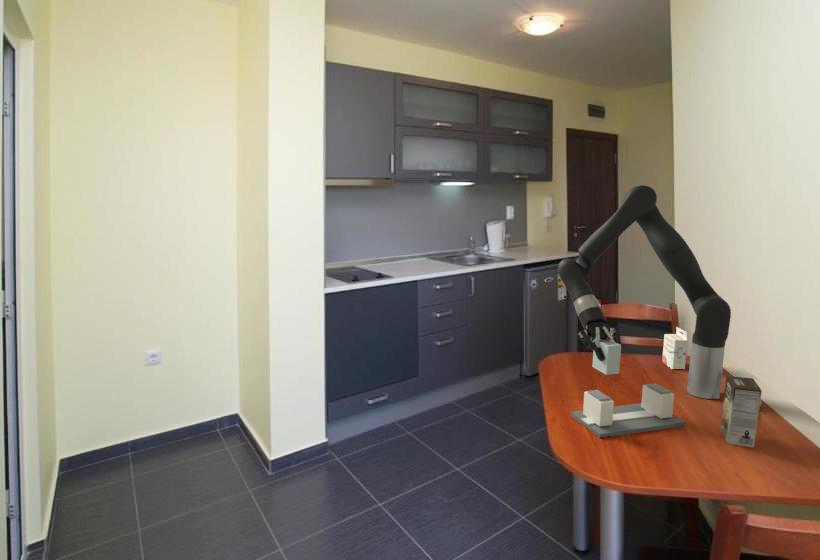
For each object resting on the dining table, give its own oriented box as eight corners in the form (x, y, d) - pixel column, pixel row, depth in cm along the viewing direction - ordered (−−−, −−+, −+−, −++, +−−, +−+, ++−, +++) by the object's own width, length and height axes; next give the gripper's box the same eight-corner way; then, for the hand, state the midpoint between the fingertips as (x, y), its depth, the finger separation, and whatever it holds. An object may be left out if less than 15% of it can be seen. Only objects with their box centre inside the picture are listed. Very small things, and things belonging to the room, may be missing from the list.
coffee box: (719, 428, 136) (725, 374, 134) (746, 432, 134) (752, 377, 131) (726, 444, 128) (733, 386, 125) (755, 448, 126) (763, 390, 123)
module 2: (652, 405, 148) (654, 382, 146) (672, 417, 140) (674, 392, 139) (641, 406, 147) (643, 383, 146) (660, 418, 139) (662, 393, 138)
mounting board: (650, 405, 151) (650, 400, 151) (685, 426, 138) (686, 420, 138) (570, 415, 145) (571, 410, 144) (599, 437, 131) (600, 432, 131)
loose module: (604, 365, 154) (606, 338, 152) (619, 373, 147) (621, 345, 146) (592, 366, 153) (594, 339, 151) (606, 374, 146) (608, 346, 145)
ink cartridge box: (660, 362, 191) (664, 326, 188) (673, 362, 191) (677, 326, 188) (672, 370, 182) (675, 332, 180) (685, 370, 182) (689, 332, 180)
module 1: (594, 412, 143) (596, 388, 142) (612, 424, 135) (614, 399, 134) (582, 414, 142) (584, 389, 141) (599, 426, 134) (601, 400, 133)
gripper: (574, 307, 152) (595, 355, 143) (614, 304, 156) (637, 352, 146) (564, 319, 158) (584, 366, 149) (603, 316, 162) (624, 363, 152)
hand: (610, 359), depth 148 cm, fingers closed on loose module, 4 cm apart
